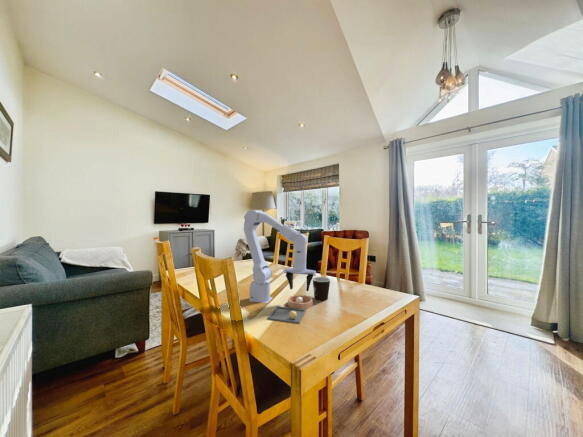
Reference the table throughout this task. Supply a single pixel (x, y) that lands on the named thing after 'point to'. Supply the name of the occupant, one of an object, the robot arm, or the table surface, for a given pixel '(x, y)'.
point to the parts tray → (286, 314)
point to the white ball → (299, 300)
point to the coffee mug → (321, 288)
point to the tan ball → (292, 314)
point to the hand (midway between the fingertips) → (299, 289)
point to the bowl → (304, 305)
